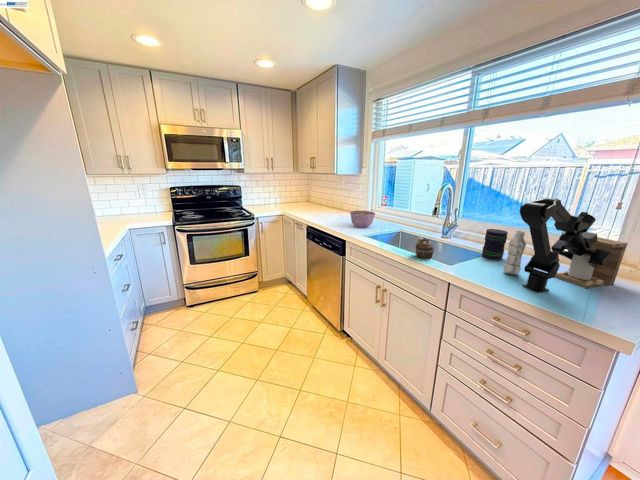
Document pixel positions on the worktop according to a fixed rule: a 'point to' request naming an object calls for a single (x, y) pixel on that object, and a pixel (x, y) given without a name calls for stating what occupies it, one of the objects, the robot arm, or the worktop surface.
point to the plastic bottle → (515, 253)
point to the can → (580, 268)
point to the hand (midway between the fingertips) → (584, 263)
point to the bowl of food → (362, 218)
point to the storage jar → (494, 244)
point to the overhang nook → (601, 273)
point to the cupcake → (424, 249)
